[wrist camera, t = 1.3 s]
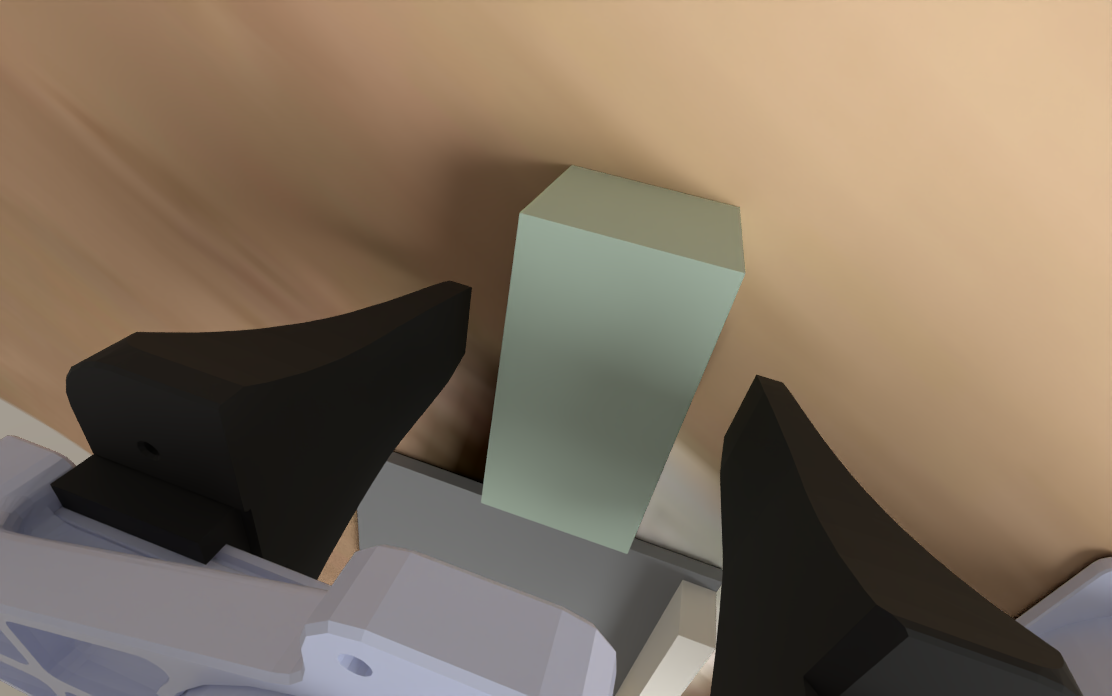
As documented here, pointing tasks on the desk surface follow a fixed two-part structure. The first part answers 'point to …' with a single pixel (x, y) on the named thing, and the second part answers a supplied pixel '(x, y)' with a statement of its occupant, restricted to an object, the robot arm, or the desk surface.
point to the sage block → (605, 347)
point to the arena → (556, 571)
